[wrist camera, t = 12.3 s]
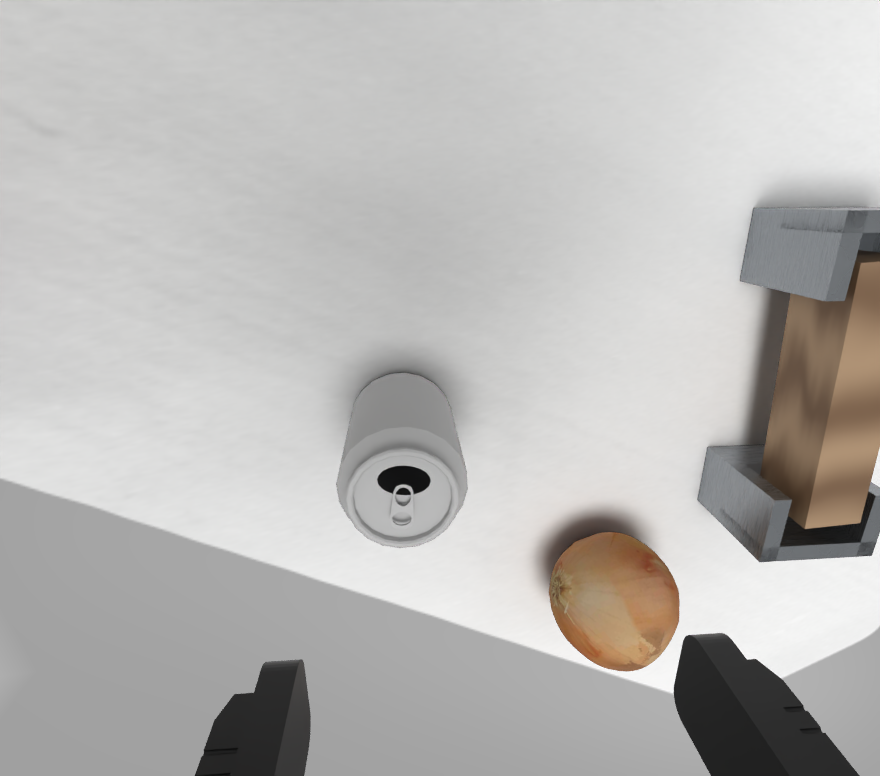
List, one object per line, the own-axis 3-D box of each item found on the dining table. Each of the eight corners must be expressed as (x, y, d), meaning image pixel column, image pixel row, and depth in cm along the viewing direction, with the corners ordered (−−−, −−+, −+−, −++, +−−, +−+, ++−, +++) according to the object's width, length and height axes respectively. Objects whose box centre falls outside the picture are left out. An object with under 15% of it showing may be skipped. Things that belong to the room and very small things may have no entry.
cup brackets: (753, 208, 36) (847, 210, 28) (867, 207, 36) (990, 209, 29) (697, 499, 44) (759, 562, 36) (791, 495, 44) (871, 555, 37)
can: (455, 371, 38) (478, 443, 27) (446, 461, 41) (464, 561, 29) (353, 365, 37) (333, 437, 26) (350, 457, 40) (331, 559, 29)
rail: (797, 254, 34) (860, 263, 29) (855, 249, 34) (927, 257, 29) (757, 490, 40) (804, 529, 36) (806, 485, 40) (860, 523, 36)
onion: (543, 507, 43) (584, 593, 33) (657, 511, 44) (727, 595, 34) (526, 600, 46) (559, 702, 37) (633, 602, 47) (691, 701, 38)
